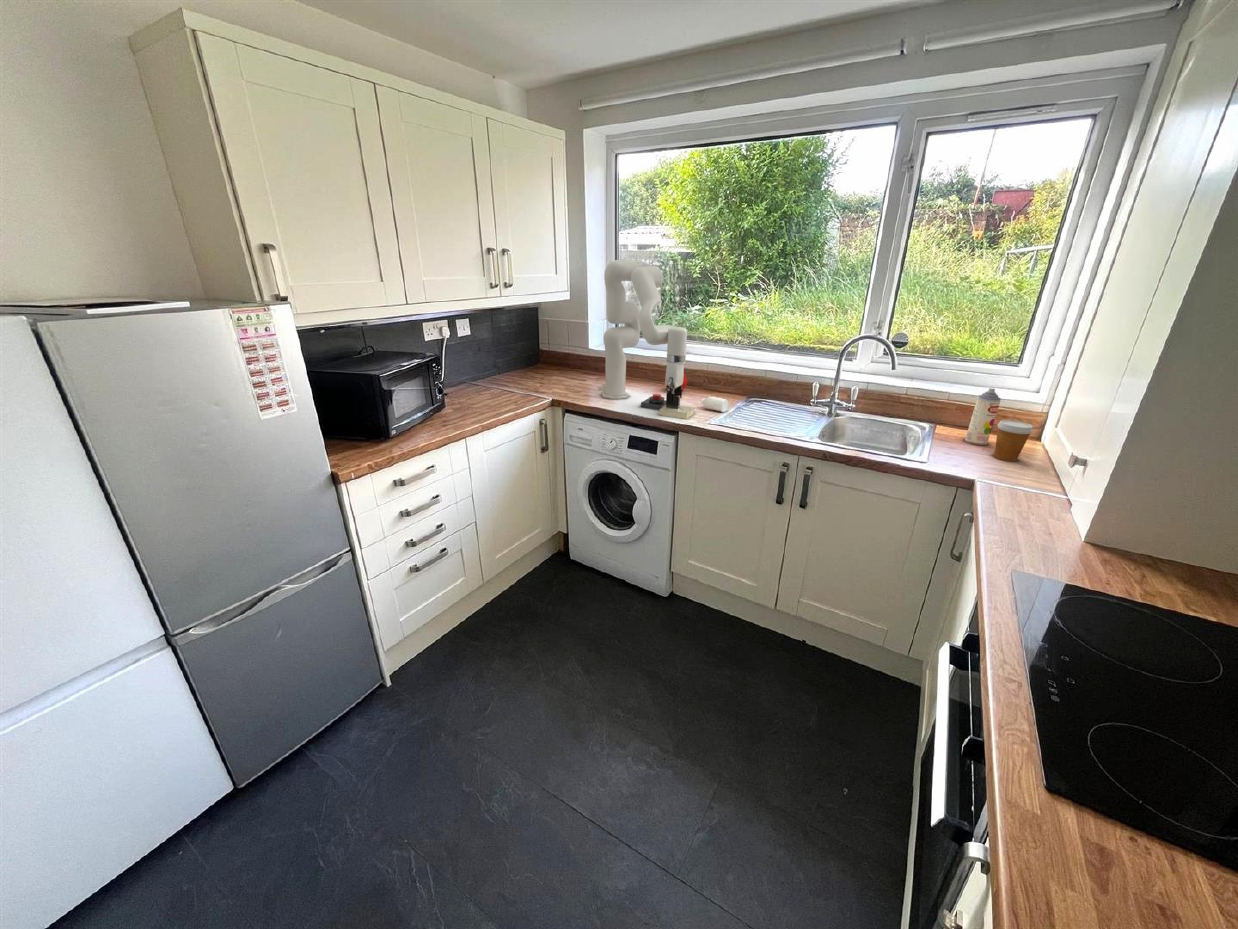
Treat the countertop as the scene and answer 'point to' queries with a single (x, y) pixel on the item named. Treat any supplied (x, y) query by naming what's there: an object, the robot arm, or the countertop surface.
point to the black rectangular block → (675, 404)
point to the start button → (656, 396)
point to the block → (653, 403)
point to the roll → (715, 403)
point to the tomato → (683, 382)
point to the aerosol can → (983, 418)
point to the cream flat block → (677, 412)
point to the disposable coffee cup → (1011, 439)
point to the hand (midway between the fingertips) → (674, 400)
